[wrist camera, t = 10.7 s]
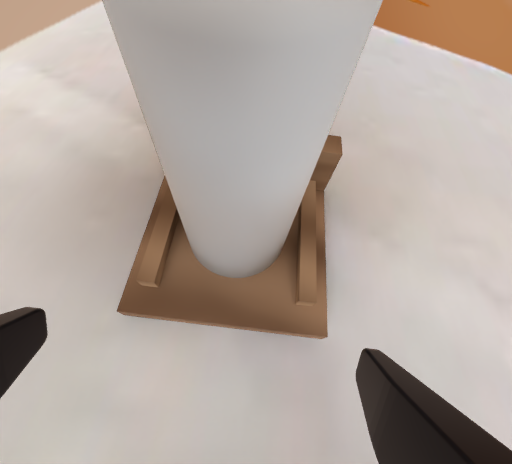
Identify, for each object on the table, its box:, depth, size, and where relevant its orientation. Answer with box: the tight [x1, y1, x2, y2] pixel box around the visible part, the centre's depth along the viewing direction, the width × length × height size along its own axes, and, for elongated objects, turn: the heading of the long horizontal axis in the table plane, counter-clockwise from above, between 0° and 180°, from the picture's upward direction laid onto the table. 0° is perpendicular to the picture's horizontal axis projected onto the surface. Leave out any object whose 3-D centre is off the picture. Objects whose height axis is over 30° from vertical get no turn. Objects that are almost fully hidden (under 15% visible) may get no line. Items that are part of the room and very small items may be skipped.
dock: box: [117, 135, 342, 339], centre depth 16 cm, size 12×12×5 cm
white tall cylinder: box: [102, 0, 382, 278], centre depth 12 cm, size 6×6×13 cm
